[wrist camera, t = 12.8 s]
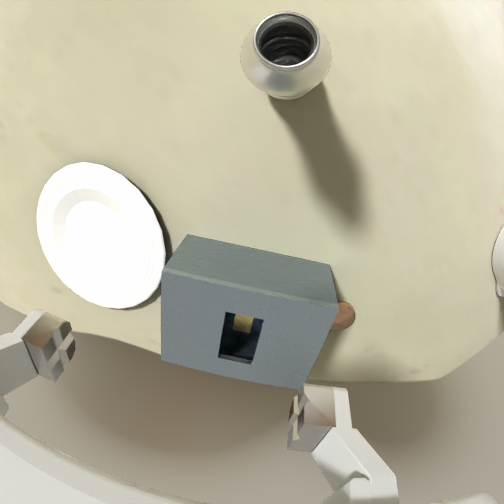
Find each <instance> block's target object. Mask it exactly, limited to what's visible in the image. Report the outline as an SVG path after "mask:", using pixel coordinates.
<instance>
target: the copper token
mask: <svg viewBox="0 0 504 504" xmlns="http://www.w3.org/2000/svg"><path fill="white" fill-rule="evenodd" d="M338 306H339V310H338V312H337V315H336V317H335V319H334V322H333V324H332V326H331V328H330V329H331V330H343V329H345V328H347V327H349V326H350V325H351V324H352V323H353V321H354V319H355V313H354V309H353V307H352V306H351V305H350V304H349V303H347V302H344V301H338Z"/></svg>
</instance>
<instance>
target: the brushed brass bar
mask: <svg viewBox="0 0 504 504" xmlns="http://www.w3.org/2000/svg"><path fill="white" fill-rule="evenodd" d="M252 322H253V317H248V316H244V315H239V314H236V315H235V320H234V325H233V330H237V331H242V332H246V333H250V330H251V326H252Z"/></svg>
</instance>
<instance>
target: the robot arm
mask: <svg viewBox="0 0 504 504" xmlns="http://www.w3.org/2000/svg"><path fill="white" fill-rule="evenodd" d="M492 267H493V272H494V275H495V277H496V280H497V284H496V292H497V294H498V295H499V296H501V297H504V226H503V228H502V229H501V231H500V233H499V235H498V238H497V240H496V243H495V246H494V250H493V256H492ZM71 330H72V328H71V325H70V322H67V321H65V320H63V319H61V318H58V317H56V316H54V315H52V314H49V313H47V312H45V311H42V310H40V309H35V310H33V311H32V312H31V313H30V314H29V315H28V316H27V317H26V319H25V320H24V321H23V322H22V323H21V324H20V325H19V326H18V327H17V328H16V329H15V331H14V332H13V333H12V334H11V333H6V334H4V335H1V336H0V504H208V503H204V502H199V501H195V500H190V499H186V498H182V497H178V496H175V495H171V494H167V493H164V492H160V491H157V490H154V489H151V488H148V487H145V486H141V485H139V484H136V483H133V482H130V481H127V480H124V479H122V478H119V477H116V476H114V475H111V474H109V473H106V472H104V471H102V470H99V469H97V468H95V467H92V466H90V465H88V464H86V463H84V462H81V461H79V460H77V459H75V458H73V457H71V456H69V455H67V454H65V453H63V452H61V451H59V450H57V449H55V448H54V447H52V446H50V445H48V444H46V443H45V442H42V441H41V440H39V439H38V438H36V437H34V436H32V435H31V434H29V433H27V432H26V431H24V430H23V429H21V428H20V427H18V426H16V425H15V424H13V423H12V422H10V421H9V420H7V419H6V418H4V415H5V414H6V412H7V411H8V409H9V406H8V404H7V402H6V401H5V399H4V398H3V396H4V395H5V394H7V393H9V392H11V391H12V390H14V389H16V388H18V387H19V386H21V385H23V384H25V383H26V382H28V381H30V380H32V379H33V378H35V377H37V376H38V375H41V376H43V377H45V378H47V379H49V380H51V381H53V382H56V381H57V379H58V378H59V376H60V375H61V374H62V372H63V371H64V368H63V365H64V364H66V363H68V362H70V360H71V359H72V357H73V355H74V352H75V340H74V338H73V336H72V335H71V334H70V332H71ZM288 422H289V424H290V425H291V429H290V430H289V432H288V441H287V449H288V450H295V451H303V452H312V453H311V454H312V456H313V458H314V459H315V461H316V463H317V464H318V466H319V468H320V469H321V471H322V473H323V475H324V476H325V478H326V480H327V481H328V483H329V485H330V486H331V488H332V490H333V491H334V493H333V494H332V495H331V496H329V497H328V498H326V499H325V500H324V501H322V502H321V503H320V504H399V499H398V491H397V483H396V476H395V474H394V473H393V472H392V471H391V470H390V468H388V466H387V465H386V464H385V463H384V462H383V460H382V459H381V458H380V457H379V456H378V454H377V453H376V452H375V451H374V449H373V448H372V447H371V446H370V445H369V443H368V442H367V441H366V440H365V439H364V437H363V436H362V435H361V434H360V433H359V431H358V430H357V429H353V428H352V421H351V413H350V405H349V399H348V391H347V389H346V388H338V387H330V386H323V385H314V384H306V383H302V384H301V385H300V387H299V388H298V395H297V396H295V397H294V399H293V401H292V403H291V406H290V411H289V420H288ZM431 504H499V503H497V502H496V501H495V500H494V499H493V498H492V497H491V496H490V495H488V494H487V493H486V492H484V491H478V492H474V493H470V494H467V495H463V496H460V497H456V498H452V499H448V500H444V501H440V502H436V503H431Z"/></svg>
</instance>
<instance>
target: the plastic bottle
mask: <svg viewBox="0 0 504 504" xmlns="http://www.w3.org/2000/svg"><path fill="white" fill-rule="evenodd" d="M331 60H332V53H331V47H330V44H329V41H328V40H327V38H326V36H325V35H324V33H323V32H322V31H321V30H320V29H319V28H318V27H317V26H315V25H314V24H313V23H312V21H311V20H309V19H308V18H307V17H305V16H303V15H301V14H298V13H295V12H279V13H275V14H272V15H270V16H268V17H266V18H265V19H264V20H263V21H261V22H260V23H259V24H258V25H256V26H255V27H254V28H253V29H252V30H251V31H250V32H249V33H248V34H247V36H246V37H245V39H244V41H243V44H242V46H241V52H240V62H241V66H242V69H243V71H244V73H245V75H246V77H247V78H248V79H249V80H250V81H251V83H252V84H254V85H255V86H256V87H257V88H259V89H261V90H263V91H265V92H266V93H268V94H269V95H271V96H272V97H274V98H277V99H282V100H293V99H297V98H300V97H302V96H304V95H306V94H307V93H308V92H309V91H310V90H311V89H313V88H314V87H316V86H317V85H318V84H319V83H320V82H321V81H322V80H323V79H324V78H325V76H326V75H327V73H328V71H329V68H330V66H331Z"/></svg>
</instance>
